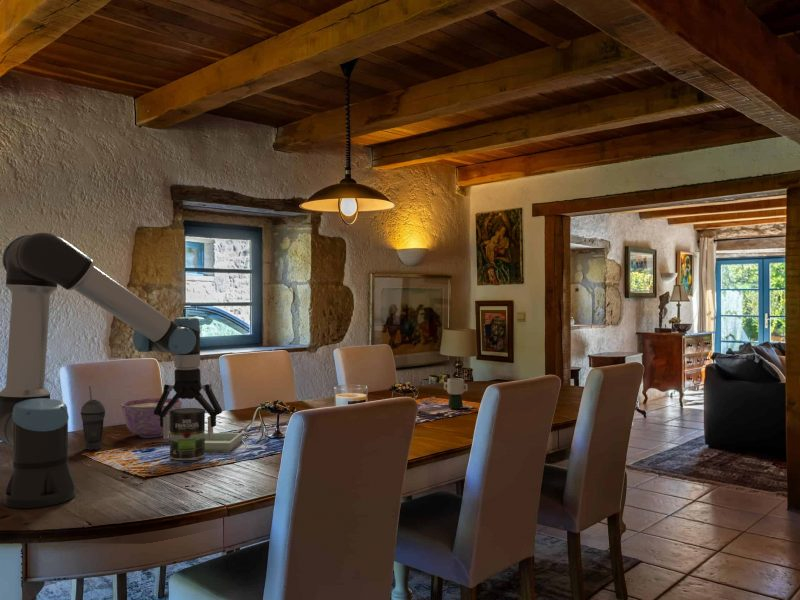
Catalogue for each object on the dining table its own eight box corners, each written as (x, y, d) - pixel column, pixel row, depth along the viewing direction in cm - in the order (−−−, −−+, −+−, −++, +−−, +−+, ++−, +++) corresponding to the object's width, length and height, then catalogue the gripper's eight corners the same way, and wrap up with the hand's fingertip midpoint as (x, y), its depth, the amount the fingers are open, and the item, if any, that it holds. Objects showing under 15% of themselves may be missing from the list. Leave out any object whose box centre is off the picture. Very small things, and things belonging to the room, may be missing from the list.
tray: (230, 451, 205) (230, 443, 205) (184, 451, 206) (184, 442, 206) (242, 441, 220) (242, 433, 220) (199, 441, 220) (199, 433, 220)
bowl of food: (108, 439, 222) (108, 405, 222) (144, 428, 242) (144, 397, 242) (160, 443, 218) (160, 408, 218) (193, 431, 237) (193, 399, 237)
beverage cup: (95, 451, 206) (95, 388, 206) (75, 450, 207) (75, 387, 207) (110, 446, 213) (110, 384, 213) (90, 445, 214) (90, 384, 214)
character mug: (470, 408, 284) (470, 378, 284) (464, 411, 278) (464, 380, 278) (446, 406, 289) (446, 377, 289) (440, 409, 283) (440, 379, 283)
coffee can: (204, 459, 196) (204, 412, 196) (168, 462, 193) (168, 414, 193) (205, 451, 206) (205, 407, 206) (170, 453, 203) (170, 408, 203)
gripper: (231, 366, 203) (232, 434, 203) (151, 366, 203) (152, 434, 204) (224, 369, 195) (225, 440, 195) (141, 369, 196) (142, 440, 196)
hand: (188, 437), depth 200 cm, fingers open, 13 cm apart
